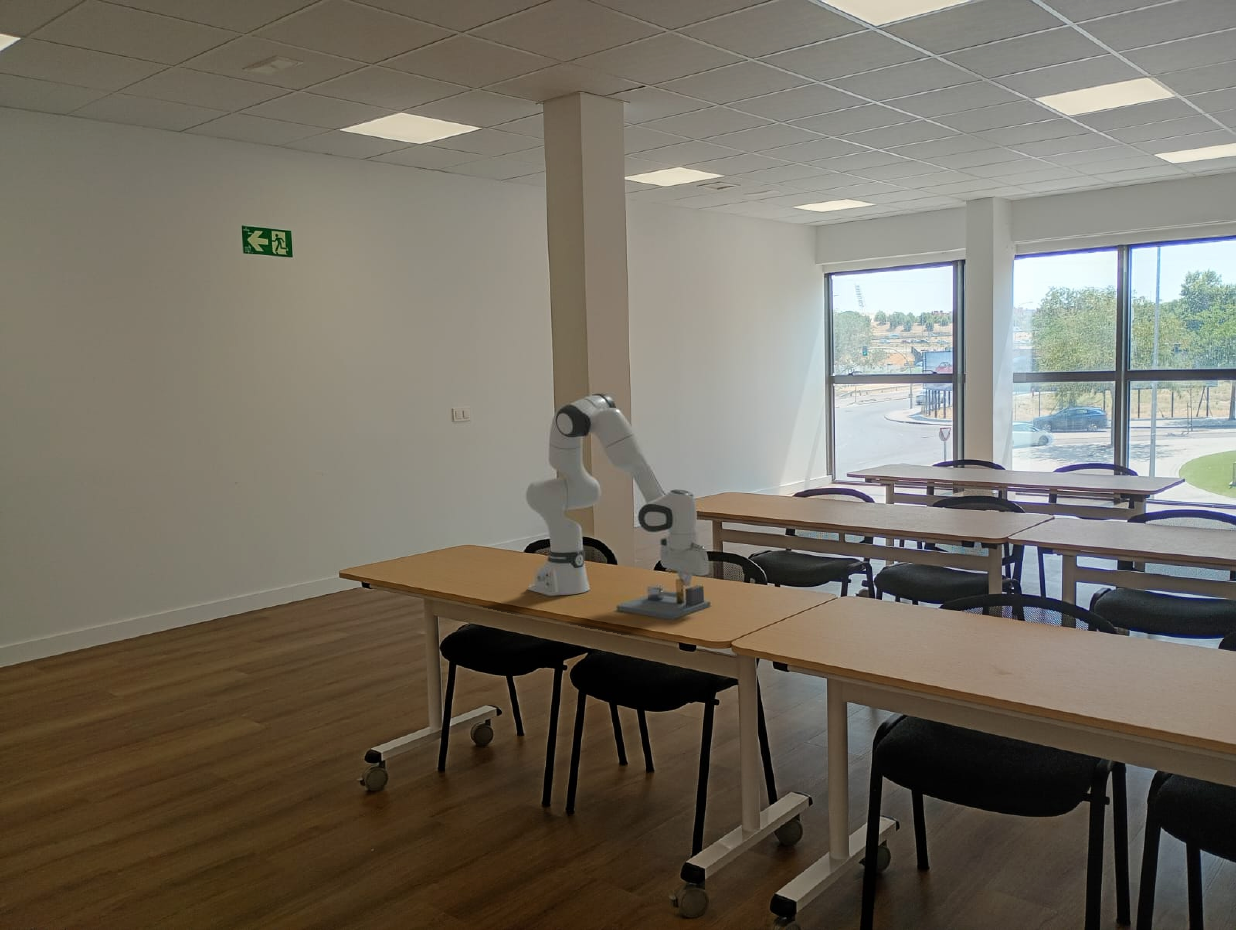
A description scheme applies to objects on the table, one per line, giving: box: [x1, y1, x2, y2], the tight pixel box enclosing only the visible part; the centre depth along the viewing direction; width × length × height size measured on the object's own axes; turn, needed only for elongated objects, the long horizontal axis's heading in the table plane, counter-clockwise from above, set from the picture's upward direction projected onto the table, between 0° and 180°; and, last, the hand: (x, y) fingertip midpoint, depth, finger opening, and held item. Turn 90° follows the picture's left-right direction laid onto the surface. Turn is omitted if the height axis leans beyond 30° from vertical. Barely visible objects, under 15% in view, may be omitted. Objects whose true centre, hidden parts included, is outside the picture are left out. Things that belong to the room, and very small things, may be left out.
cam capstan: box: [646, 578, 685, 603], centre depth 299 cm, size 14×5×7 cm, turn 48°
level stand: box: [616, 584, 711, 621], centre depth 296 cm, size 22×19×6 cm
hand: (685, 585), depth 299 cm, fingers closed
